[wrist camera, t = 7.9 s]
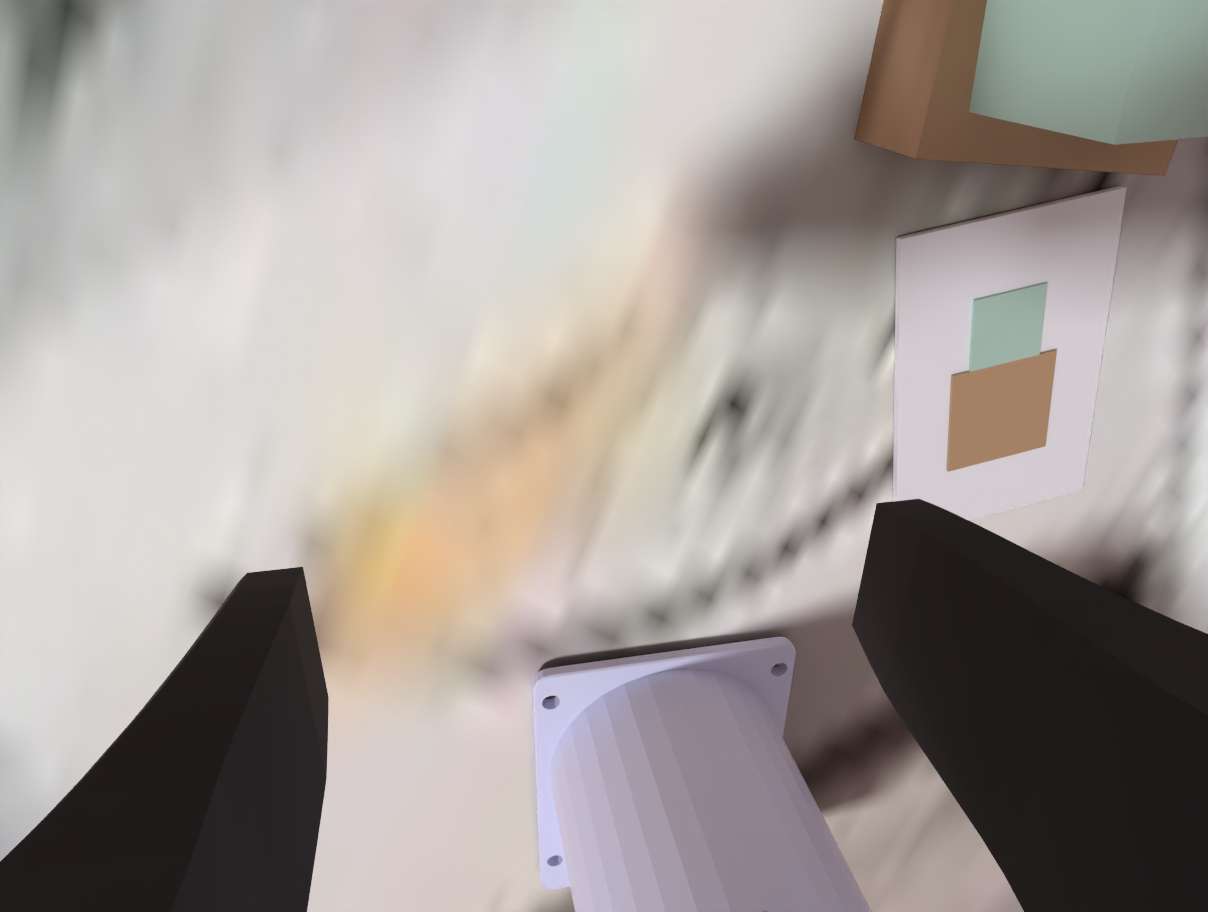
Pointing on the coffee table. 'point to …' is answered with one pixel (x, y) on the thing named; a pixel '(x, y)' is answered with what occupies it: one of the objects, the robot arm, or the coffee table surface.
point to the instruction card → (1002, 353)
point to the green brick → (1096, 67)
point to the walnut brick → (965, 100)
